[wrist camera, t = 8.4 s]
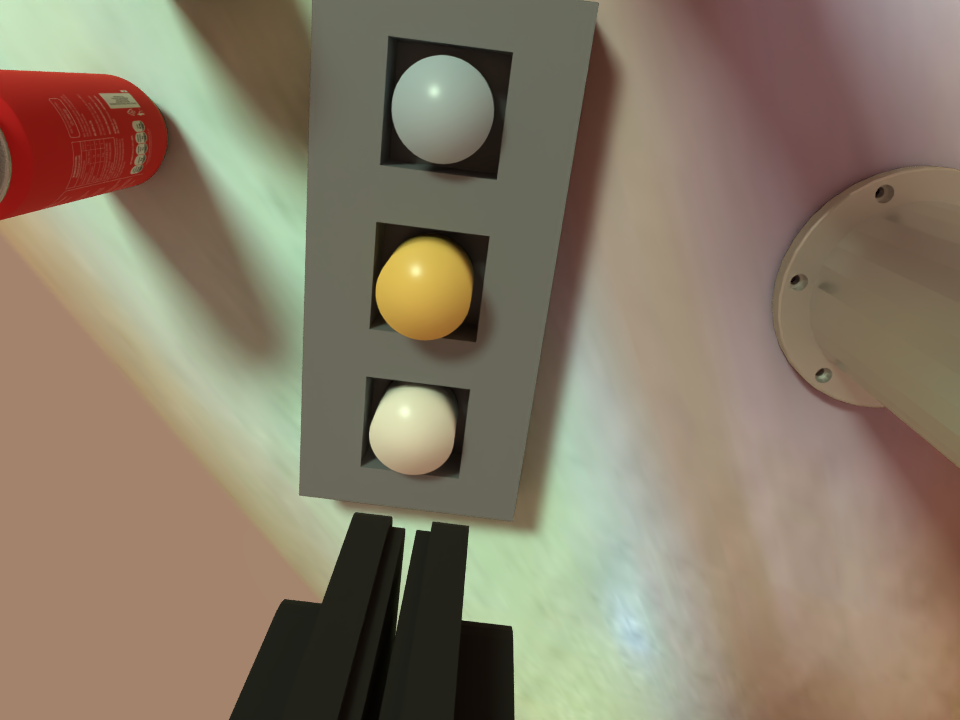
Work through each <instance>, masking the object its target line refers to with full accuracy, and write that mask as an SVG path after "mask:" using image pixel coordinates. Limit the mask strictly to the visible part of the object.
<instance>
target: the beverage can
mask: <svg viewBox="0 0 960 720" xmlns="http://www.w3.org/2000/svg"><path fill="white" fill-rule="evenodd" d="M167 147H168V130H167V126H166V123H165V120H164V117H163V115H162V113H161V112H160V110H159V108H158V107H157V106H156V104H155V103H154V102H153V101H152V100H151V99H150V98H149V97H148V96H147V95H146V94H145V93H144V92H143V91H141V90H140V89H139V88H138V87H136V86H135V85H134V84H132V83H130V82H129V81H127V80H125V79H122V78H120V77H117V76H113V75H107V74H88V73H65V72H42V71H19V70H0V220H3V219H7V218H10V217H14V216H18V215H22V214H26V213H30V212H34V211H38V210H42V209H46V208H50V207H54V206H57V205H61V204H65V203H69V202H73V201H77V200H81V199H85V198H89V197H93V196H97V195H101V194H104V193H108V192H112V191H116V190H120V189H124V188H128V187H132V186H135V185H139V184H141V183H143V182H145V181H146V180H148V179H149V178H150V177H152V176H153V175H154V174H155V172H156V171H157V170H158V168H159V167H160V165H161V163H162V161H163V158H164V157H165V154H166V151H167Z"/></svg>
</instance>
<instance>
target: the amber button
mask: <svg viewBox="0 0 960 720" xmlns="http://www.w3.org/2000/svg"><path fill="white" fill-rule="evenodd" d="M473 284H474V271H473V266H472V263H471V260H470V258H469V256H468V255H467V253H466V252H465V250H464V249H463V248H462V247H461V246H460V245H459V244H458V243H456V242H455V241H453V240H452V239H450V238H448V237H446V236H443V235H439V234H431V233H427V234H420V235H416V236H413V237H411V238H409V239H407V240H406V241H404V242H403V243H402V244H400V245H399V246H398V248H397V249H396V250H395V251H394V253H393V254H392V256H391V257H390V259H389V260H388V261H387V263H386V264H385V266H384V267H383V269H382V271H381V272H380V275H379V277H378V280H377V284H376V301H377V305H378V308H379V311H380V313H381V315H382V316H383V318H384V319H385V321H386V322H387V323H388V324H389V325H390V326H391V327H392V328H393V329H394V330H395V331H397V332H398V333H400V334H402V335H404V336H406V337H409V338H412V339H416V340H434V339H439V338H442V337H444V336H446V335H448V334H450V333H451V332H453V331H454V330H455V329H457V328H458V327H459V326H460V325H461V323H462V322H463V321H464V319H465V317H466V315H467V313H468V311H469V308H470V303H471V297H472V290H473Z"/></svg>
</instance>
